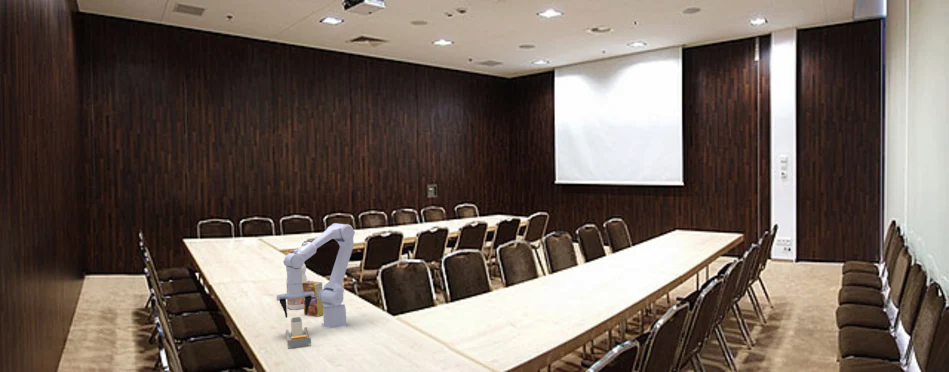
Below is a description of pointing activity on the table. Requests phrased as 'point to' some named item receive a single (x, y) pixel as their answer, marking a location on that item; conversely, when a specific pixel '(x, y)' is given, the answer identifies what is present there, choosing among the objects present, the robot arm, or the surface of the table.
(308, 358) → the table surface
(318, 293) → the candy box
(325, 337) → the table surface
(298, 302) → the fruit juice
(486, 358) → the table surface
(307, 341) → the gray u-shaped frame
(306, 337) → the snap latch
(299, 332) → the module
